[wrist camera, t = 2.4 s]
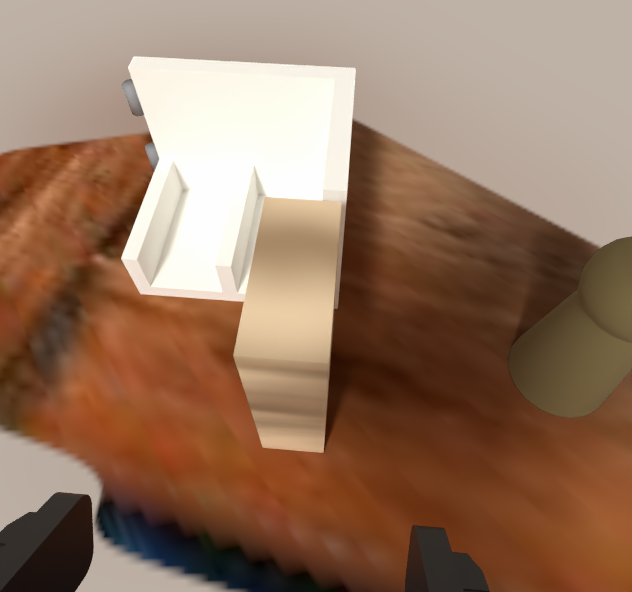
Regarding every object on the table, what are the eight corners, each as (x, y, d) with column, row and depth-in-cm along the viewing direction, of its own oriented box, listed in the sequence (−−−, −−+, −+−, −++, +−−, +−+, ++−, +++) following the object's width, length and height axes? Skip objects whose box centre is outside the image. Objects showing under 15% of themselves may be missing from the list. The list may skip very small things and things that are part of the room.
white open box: (337, 308, 33) (347, 190, 23) (125, 292, 33) (53, 172, 24) (345, 198, 38) (355, 68, 29) (163, 186, 39) (117, 55, 30)
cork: (498, 329, 32) (574, 215, 23) (589, 328, 32) (702, 215, 23) (520, 418, 29) (619, 328, 19) (622, 417, 29) (768, 327, 19)
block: (323, 452, 27) (329, 363, 17) (262, 447, 28) (233, 355, 18) (332, 330, 32) (341, 201, 22) (280, 326, 32) (264, 196, 22)
